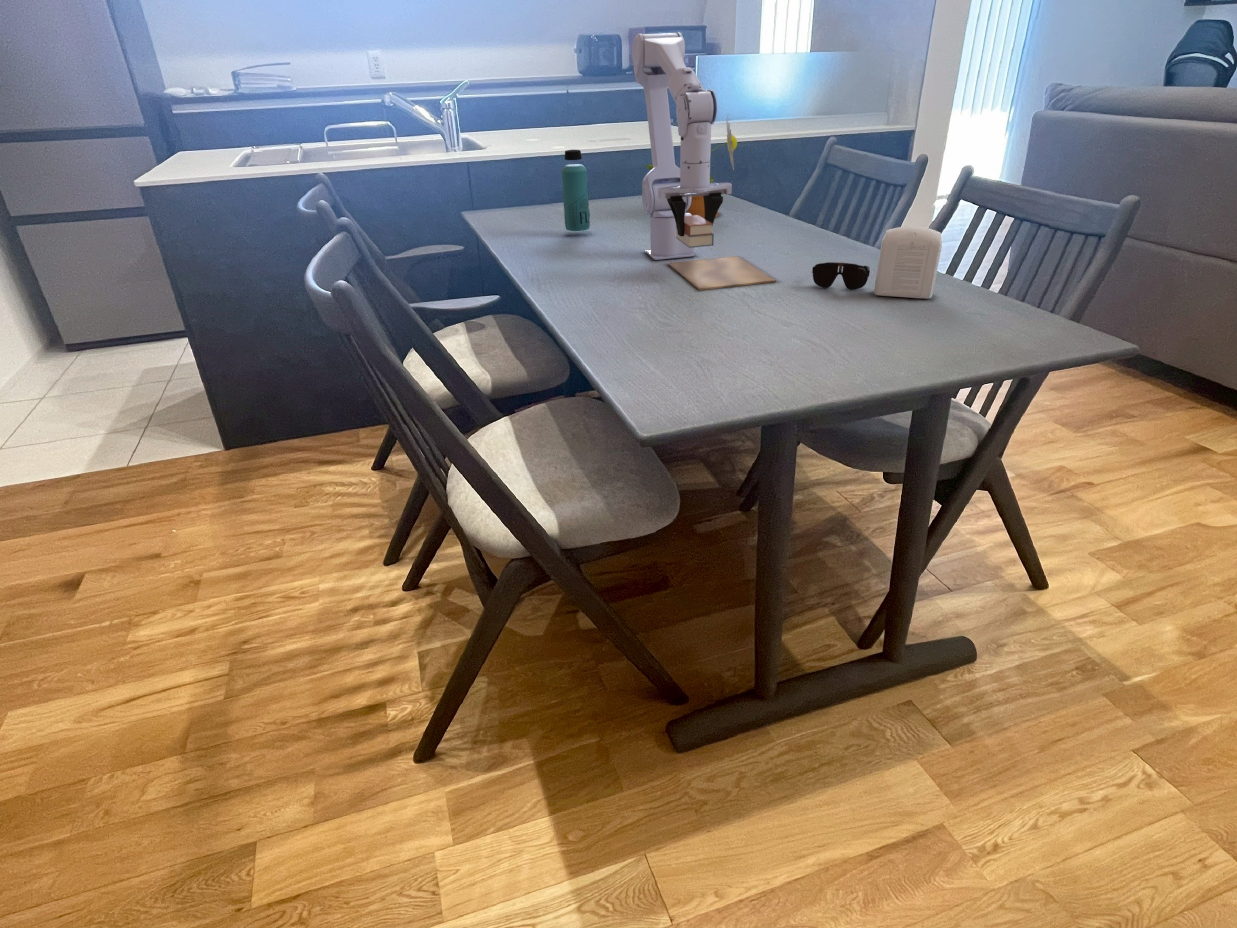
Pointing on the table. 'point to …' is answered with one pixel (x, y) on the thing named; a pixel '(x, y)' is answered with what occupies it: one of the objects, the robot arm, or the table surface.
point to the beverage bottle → (575, 193)
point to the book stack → (696, 232)
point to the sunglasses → (851, 274)
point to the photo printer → (908, 262)
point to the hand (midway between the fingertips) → (694, 234)
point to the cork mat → (720, 273)
